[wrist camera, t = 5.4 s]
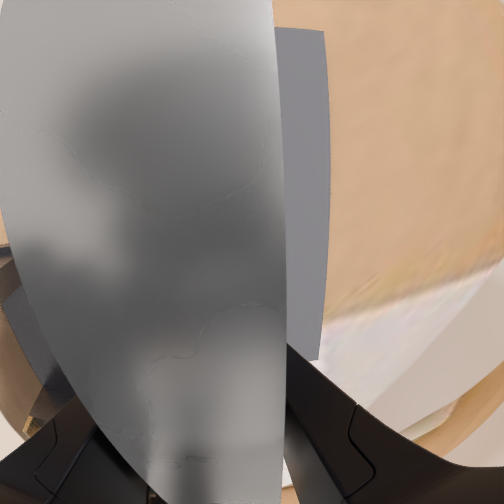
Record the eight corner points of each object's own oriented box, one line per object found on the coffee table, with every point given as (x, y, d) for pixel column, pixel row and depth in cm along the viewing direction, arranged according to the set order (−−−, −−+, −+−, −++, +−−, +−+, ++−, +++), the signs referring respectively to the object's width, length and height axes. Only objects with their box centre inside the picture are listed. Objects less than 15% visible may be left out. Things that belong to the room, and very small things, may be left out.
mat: (316, 356, 23) (317, 359, 22) (171, 370, 22) (171, 373, 21) (321, 33, 14) (323, 31, 13) (125, 43, 13) (123, 41, 12)
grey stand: (93, 402, 23) (76, 457, 16) (55, 397, 22) (35, 446, 16) (26, 240, 16) (-31, 283, 10) (-12, 246, 16) (-64, 285, 10)
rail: (268, 481, 11) (278, 532, 8) (206, 486, 10) (209, 537, 8) (236, -31, 4) (252, -124, 1) (94, -7, 3) (28, -69, 1)
